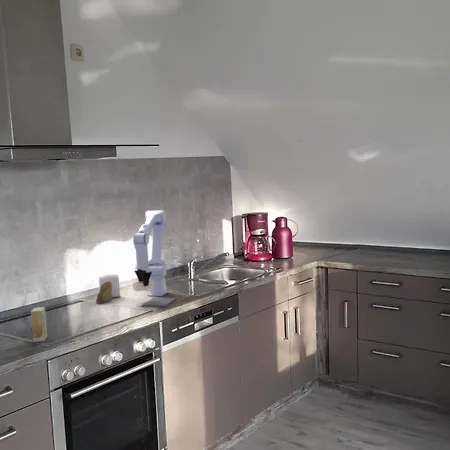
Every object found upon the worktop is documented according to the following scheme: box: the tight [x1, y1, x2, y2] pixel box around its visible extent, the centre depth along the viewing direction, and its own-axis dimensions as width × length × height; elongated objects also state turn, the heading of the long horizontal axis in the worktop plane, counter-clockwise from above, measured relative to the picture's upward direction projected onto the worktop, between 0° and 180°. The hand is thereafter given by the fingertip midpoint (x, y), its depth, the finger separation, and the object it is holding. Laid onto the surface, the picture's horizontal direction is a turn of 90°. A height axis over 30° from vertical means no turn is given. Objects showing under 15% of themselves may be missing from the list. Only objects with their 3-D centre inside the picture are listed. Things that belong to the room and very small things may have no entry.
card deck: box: [132, 279, 154, 292], centre depth 277 cm, size 5×9×4 cm, turn 118°
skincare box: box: [30, 306, 48, 343], centre depth 223 cm, size 6×4×12 cm
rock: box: [95, 281, 113, 304], centre depth 286 cm, size 11×9×10 cm
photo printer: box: [98, 273, 121, 298], centre depth 294 cm, size 10×4×12 cm, turn 114°
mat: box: [141, 297, 176, 308], centre depth 276 cm, size 14×12×1 cm
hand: (143, 285), depth 277 cm, fingers closed on card deck, 5 cm apart
